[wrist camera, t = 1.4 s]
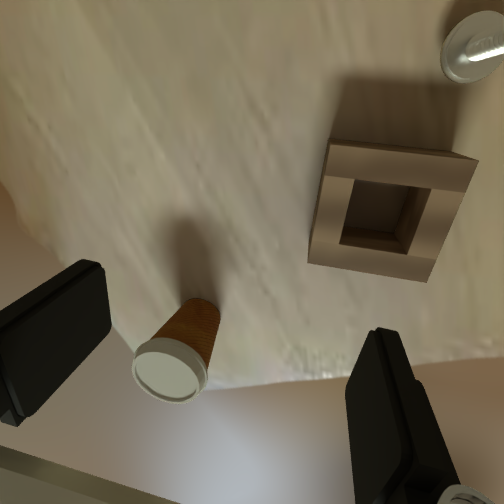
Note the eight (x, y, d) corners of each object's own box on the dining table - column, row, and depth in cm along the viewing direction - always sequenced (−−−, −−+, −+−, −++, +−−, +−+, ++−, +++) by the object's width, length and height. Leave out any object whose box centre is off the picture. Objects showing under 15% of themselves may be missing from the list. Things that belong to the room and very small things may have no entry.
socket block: (328, 138, 30) (330, 144, 25) (451, 151, 29) (479, 160, 24) (308, 241, 36) (307, 262, 31) (411, 257, 34) (426, 282, 29)
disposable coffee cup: (241, 309, 43) (216, 375, 32) (216, 348, 47) (187, 417, 37) (183, 278, 42) (139, 335, 32) (164, 320, 47) (119, 382, 36)
